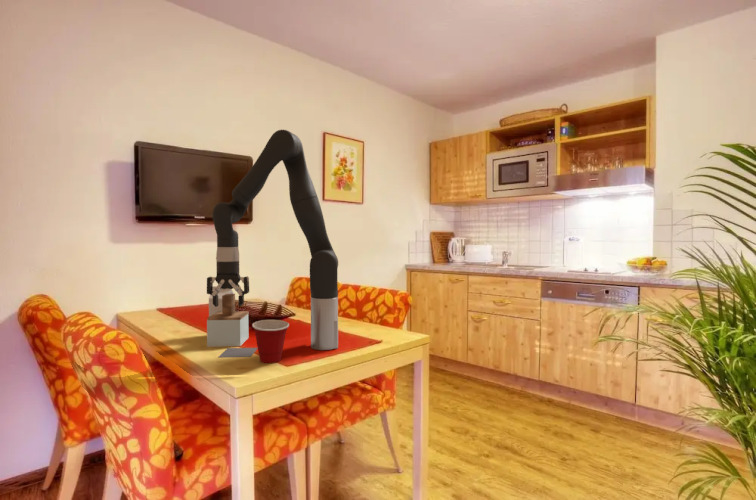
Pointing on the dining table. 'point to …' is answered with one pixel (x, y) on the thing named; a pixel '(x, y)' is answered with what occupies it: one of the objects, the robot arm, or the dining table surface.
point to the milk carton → (219, 308)
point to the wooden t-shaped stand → (228, 310)
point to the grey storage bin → (227, 332)
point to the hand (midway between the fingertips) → (228, 306)
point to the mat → (238, 352)
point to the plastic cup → (270, 339)
